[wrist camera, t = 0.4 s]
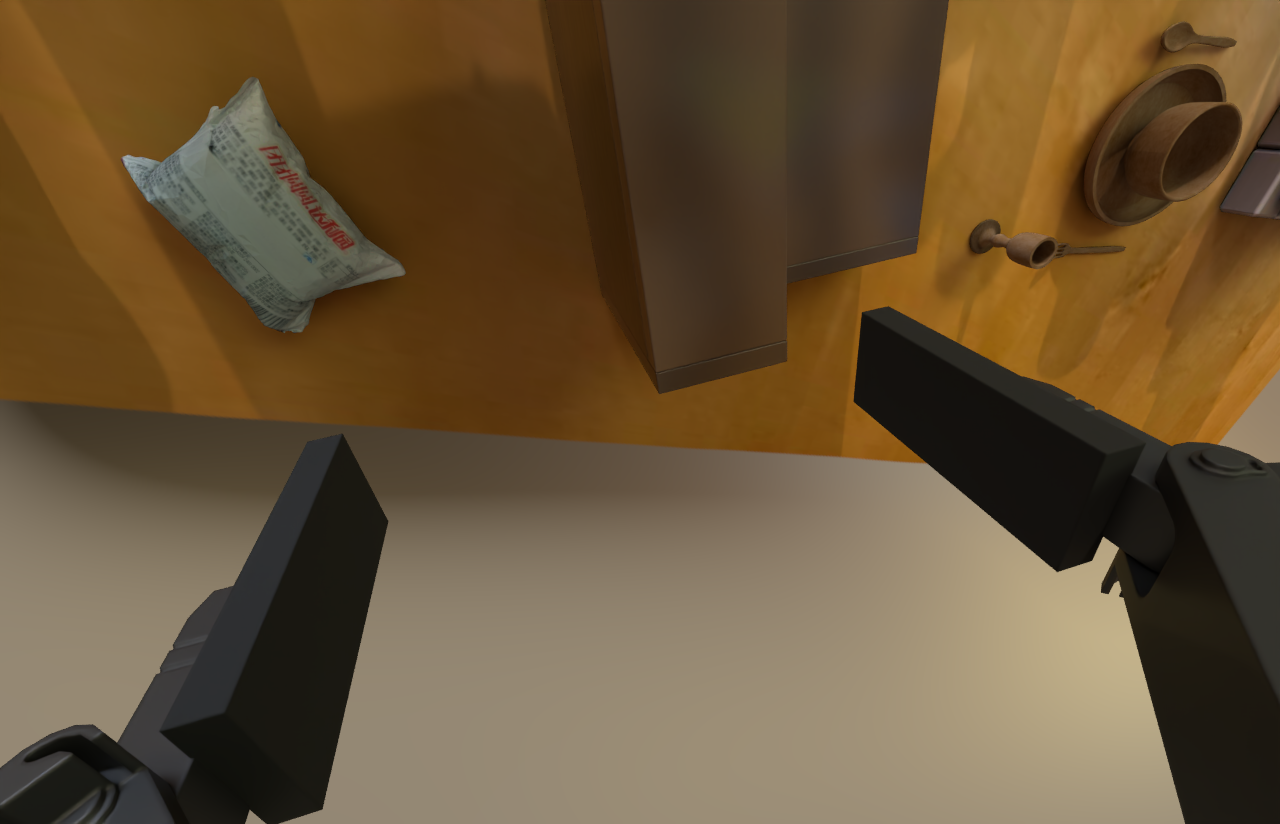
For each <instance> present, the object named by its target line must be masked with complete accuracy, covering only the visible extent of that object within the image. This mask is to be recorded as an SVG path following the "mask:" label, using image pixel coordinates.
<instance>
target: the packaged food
mask: <svg viewBox="0 0 1280 824" xmlns="http://www.w3.org/2000/svg"><path fill="white" fill-rule="evenodd" d="M219 113H220V114H219ZM142 158H143V157H133V156H131V155H127V156H124V157H122V158H121V161H122V163H123V165H124V167H125V168H126V169H127V171H128V172H129V173H130V175H131V177H132V179H133V180H134V182H135V184H136V185H137V187H138V189H139V190H140V191H141V193H142V194H143V196H144V197H145V198H146V200H147V201H148V202H149V203H150V204H151V205H152V206H153V207H154V208H155V209H156V210H158V211H159V212H160V213H161V214H162V215H163V216H164V217H165V218H166V219H167V220H168V221H169V222H170V223H171V224H172V225H173V226H174V227H175V228H176V229H177V230H178V231H179V232H180V233H181V234H182V235H183V236H184V237H185V238H186V239H187V240H188V241H189V242H190V243H191V244H192V245H193V246H194V247H195V248H196V249H197V250H198V251H199V252H200V253H202V254H203V255H204V256H205V257H206V258H207V259H208V260H209V262H210V263H211V264H212V266H213V267H214V268H215V269H216V270H217V271H218V272H219V273H220V274H221V275H222V276H223V277H224V278H225V280H226V281H227V282H228V283H229V284H230V285H231V286H232V287H233V288H234V289H236V290H237V291H238V293H239V294H240V295H241V296H242V297H243V298H245V299H246V301H247V303H248V304H249V305H250V307H251V308H252V309H253V311H254V312H255V314H256V315H257V317H258V318H259V320H260V321H261V322H262V323H263V324H264V325H265V326H267V327H269V328H272V329H275V330H277V331H281V332H283V333H285V331H292V332H293V333H297V332H302V331H303V329H304V328H305V326H307V325H308V324H309V318H310V314H311V311H312V309H313V306H314V302H315V299H316V298H319V297H322V296H324V295H326V294H328V293H331V292H333V290H336V289H338V290H339V289H344V288H349V287H352V286H357V285H361V284H363V283H369V282H373V281H377V280H382V279H388V278H393V277H397V276H398V277H401V276H403V275H405V274H406V272H405V269H404V267H403V265H402V264H401V263H400V262H399V260H397V259H395V258H393V257H392V256H391V255H389V254H387V253H386V252H385V251H384V250H383V249H380V248H379V247H377V246H376V245H375V244H373V243H372V242H370V241H369V240H368V239H366V237H365V236H364V235H363V234H362V233H361V231H360V230H359V229H358V228H357V226H356V225H355V224H354V223H353V221H352V220H351V219H350V218H349V216H348V215H347V214H346V213H345V212H344V210H343V209H342V208H341V207H340V206H339V204H338V203H337V202H336V201H335V200H334V198H333V197H332V196H331V195H330V194H329V193H328V192H327V191H326V190H325V189H324V188H323V187H322V186H321V185H319V184H318V183H316V182H315V181H314V180H312V179H311V178H310V175H309V170H308V169H307V167H306V164H305V161H304V159H303V157H302V155H301V154H300V152H299V151H298V149H297V148H296V146H295V145H294V143H293V142H292V141H291V139H290V138H289V136H288V135H287V133H286V132H285V130H284V129H283V128H282V126H281V125H280V124H279V122H278V121H277V120H276V118H275V116H274V114H273V111H272V110H271V108H270V107H269V104H268V102H267V99H266V97H265V94H264V91H263V89H262V87H261V84H260V82H259V80H258V79H257V78H255V77H251V78H249V79H247V80H246V82H245V83H244V84H243V85H242V87H241V88H240V90H239V91H238V93H237V94H236V95H235V96H233V97H232V98H231V99H230V100H229V102H228V103H227V105H226V106H225V107H224V108H222V109H220V110H219V107H216V106H213V107H212V108H211V109H210V112H209V115H208V118H207V119H206V122H205V123H204V124H203V125H202V127H201V128H200V130H199V131H198V132H197V133H196V134H195V135H194V136H193V137H192V138H191V139H190V140H189V141H188V142H187V143H186V144H184V145H183V146H182V147H181V148H180V149H178V150H177V151H176V152H175V153H173V154H172V155H170V156H169V157H168V158H166V159H165V160H164V161H163V162H162V163H161V162H158V161H155V160H151V159H147V158H143V159H142ZM144 159H145V160H144Z"/></svg>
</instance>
